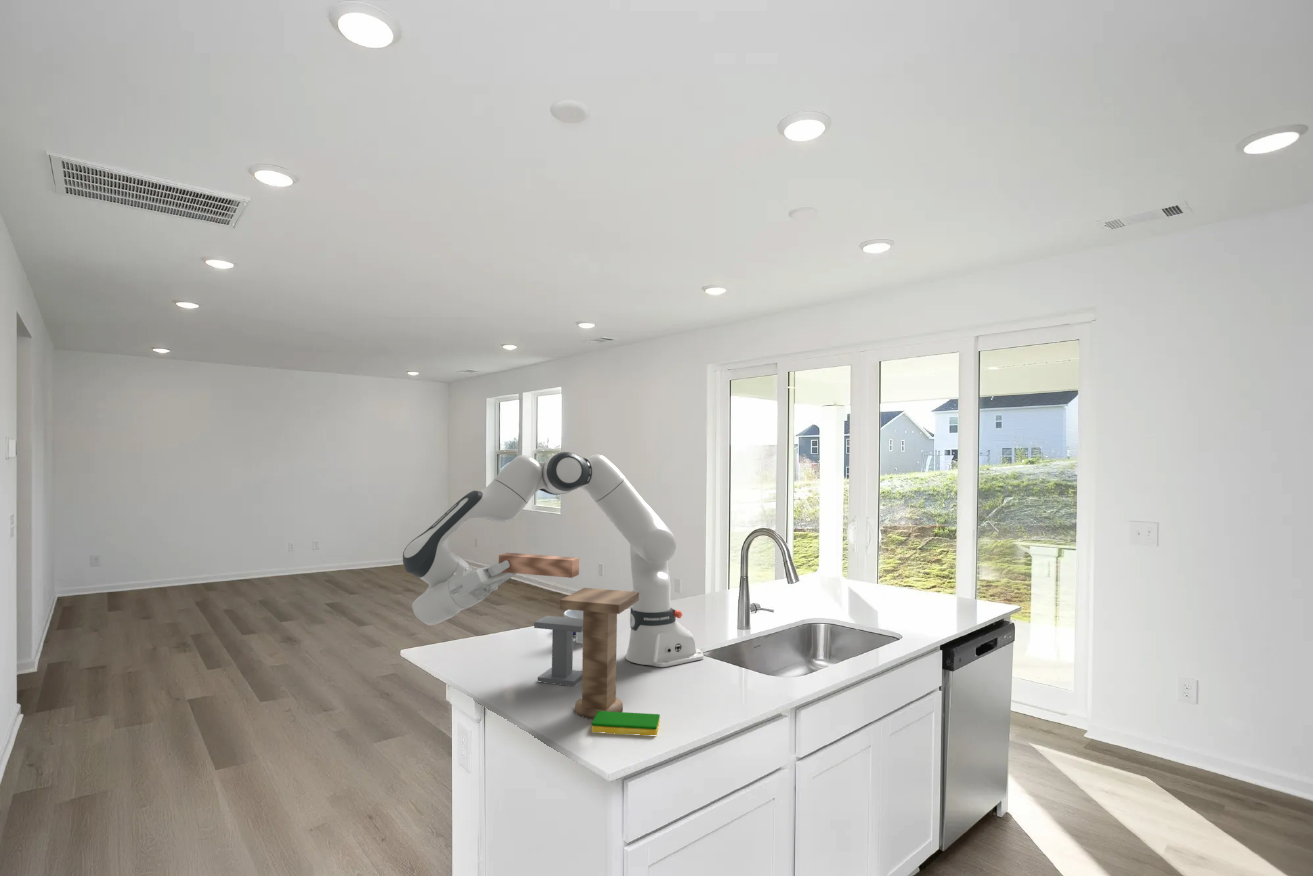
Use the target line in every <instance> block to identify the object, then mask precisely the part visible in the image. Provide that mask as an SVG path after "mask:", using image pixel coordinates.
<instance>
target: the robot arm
mask: <svg viewBox="0 0 1313 876" xmlns="http://www.w3.org/2000/svg"><path fill="white" fill-rule="evenodd" d="M578 488H580V489H583V490H584V491H585V492H586V493H588V495H589V496H590V497H591V498H592V499H593V501H594V502H595V503H596V505H597V506H598V508H600V509H601V511H602V512H603V513H604V514H605V515H606V517H607V518H608V519H609V521H610V522H611V523H612V524H613V525H614V527H616V529H617V530H618V531H619V532H620V533H621V535H622V536H623V537H624V538H625V540H626V541H627V542H628V544H629V550H630V553H629V554H630V566H631V567H630V569H631V578H632V580H631V583H632V586H631V590H632V592H639V601H637V602H636V603H634V604H633V605H631V607H630V613H629V626H630V635H629V642H628V646H627V647H628V648H627V651H626V654H625V659H626V660H627V661H629V662H630V663H635V664H639V665H646V666H653V667H657V668H667V667H670V666H676V665H681V664H685V663H690V662H694V661H701V660H703V659H704V653H703V651H702V650H701V649H699V648H698V647H697V646H696V645H697V644H696V639H695V637H694V635H693V633H692V632H691V631H690V630H688V629H687V628H686V627H684V626H683V625H682V624H681V623H680V622H678V621H677V620H676V618H677V619H682V617H683V612H682V611H680V610H678V609H674V608H672V607H671V586H672V585H671V581H672V580H671V578H670V569H669V564H668V563H669V560H671V559H672V557H673V556H674V555H675V553H676V548H677V542H676V538H675V535H674V533H673V532H672V530H671V529H670V528H669V527H668V526H667V524H665V522H664V521H663V520H662V519H661V517H659V515H657V513H656V512H655V511H654V510H653V509H652V508H651V506H650V505H649V504H648V503H647V502H646V501H645V500H644V498H643V497H642V496H641V495H640V493H639V492H638V491H637V490H636V488H635V487H634V486H633V485H632V484H631V482H630V481H629V480H628V479H627V477H626V476H625V475H624V474H623V473H622V471H620V470H619V468H618V467H617V466H616V465H615V464H614V463H613V462H612V461H611V460H609V459H608V458H607V457H606V456H604V455H603V454H599V453H596V454H592V455H590V456H588V457H583V456H580V455H579V454H575V453H573V452H570V451H562V452H559V453H558V452H557V454H554V455H551V456H550V457H548V458H547V459H545V460H544V461H537V460H536V459H535V458H533V457H531V456H529V455H523V454H521V455H517V456H516V457H514V458H513V459H512V460H511V461H509V462H508V463H507V465H505V467H504V468H503V469H501V471H500V472H499V473H498V474H497V475H496V476H495V478H494V479H492V481H491V482H490V483H489V484H488V485H486V486H485V487H484V488H482V489H480V490H472V491H469V492H468V493H466V494H465V495H464V496H463V497H462V498H461V499H459V500H458V501H457V502H456V503H454V504H453V505H452V506H451V507H450V508H449V509H448V510H447V511H445V513H444V514H443V515H442V516H440V517H439V518H438V519H437V520H436V521H435V522H434V523H433V524H432V525H431V526H429V527H428V528H427V529H426V530H425V531H423V533H421V534H419V535H418V536H417V537H415V538H413V539H412V540H411V541H410V542H409V543H408V544H407V545H406V547H405V548H404V551H403V552H402V564H403V567H404V571H405V572H406V573H409V574H410V575H412V576H414V577H416V578H417V579H420V580H422V581H423V582H425V583H426V584H427V585H428V587H427V588H426V590H425V591H424V592H423V593H422V594H421V595H419V596H418V597H416V599H415V600H413V602H412V605H411V607H412V611H413V612H412V613H414V615H415V617H416V619H417V620H418V621H420V622H421V623H423V624H424V625H427V626H434V625H439V624H440V623H443V622H445V621H447V620H449V619H451V618H453V617H454V616H456V615H457V614H458V613H460V612H461V611H463V610H467V609H469V608H471V607H473V606H474V605H476V604H478V603H480V602H481V601H484V600H485V599H486V598H487V597H488V596H489V595H490V594H492V593H493V592H495V591H496V590H498V589H499V588H498V587H500V585H502V584H504V583H506V581H508V580H509V579H511V578H512V577H514V576H515V575H517V574H518V573H506V572H502V571H504V570H506V569H508V568H510V567H511V566H512V564H511V562H510V560H506V561H504V562H502V563H500V564H499V562H497V563H494V564H490V565H487V566H483V567H472V566H471V565H470V564H469V563H468V562H467V561H465V560H464V559H463V558H461V557H460V556H458V554H455V553H454V552H453V551H451V550H450V549H449V548H447V547H446V546H444V543H445V541H446V540H448V538H450V536H452V535H453V534H454V533H455V532H456V531H457V530H458V529H459V528H461V526H462V525H463V524H464V523H465V522H467V521H469V520H471V519H482V520H483V519H484V520H487V521H490V522H496V523H506V522H509V521H511V520H514V519H515V518H516V517H517V516H519V515H520V513H522V511H523V510H524V508H525V507H526V505H528V503H529V502H530V501H531V499H532V498H533V496H534V495H535V494H536V493H537V492H538V491H541V492H544V493H546V494H549V495H553V496H558V495H559V496H560V495H566V494H568V493H571V492H572V491H574V490H577V489H578Z"/></svg>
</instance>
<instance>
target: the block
mask: <svg viewBox="0 0 1313 876" xmlns="http://www.w3.org/2000/svg"><path fill="white" fill-rule="evenodd" d="M506 560H510V562H511V564H512V566H511V567H510V568H508V569H506V570H504V571H502V572H506V573H517V574H519V575H520V574H522V575H532V576H546V577H558V578H568V579H569V578H571V579H573V578H575V577H577V576H579V574H580V557H575V556H574V557H573V556H571V557H570V556H559V555H545V554H544V555H543V554H530V553H517V552H505V553H501V554H499V555H498V563H499V564H500V563H502V562H504V561H506Z"/></svg>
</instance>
